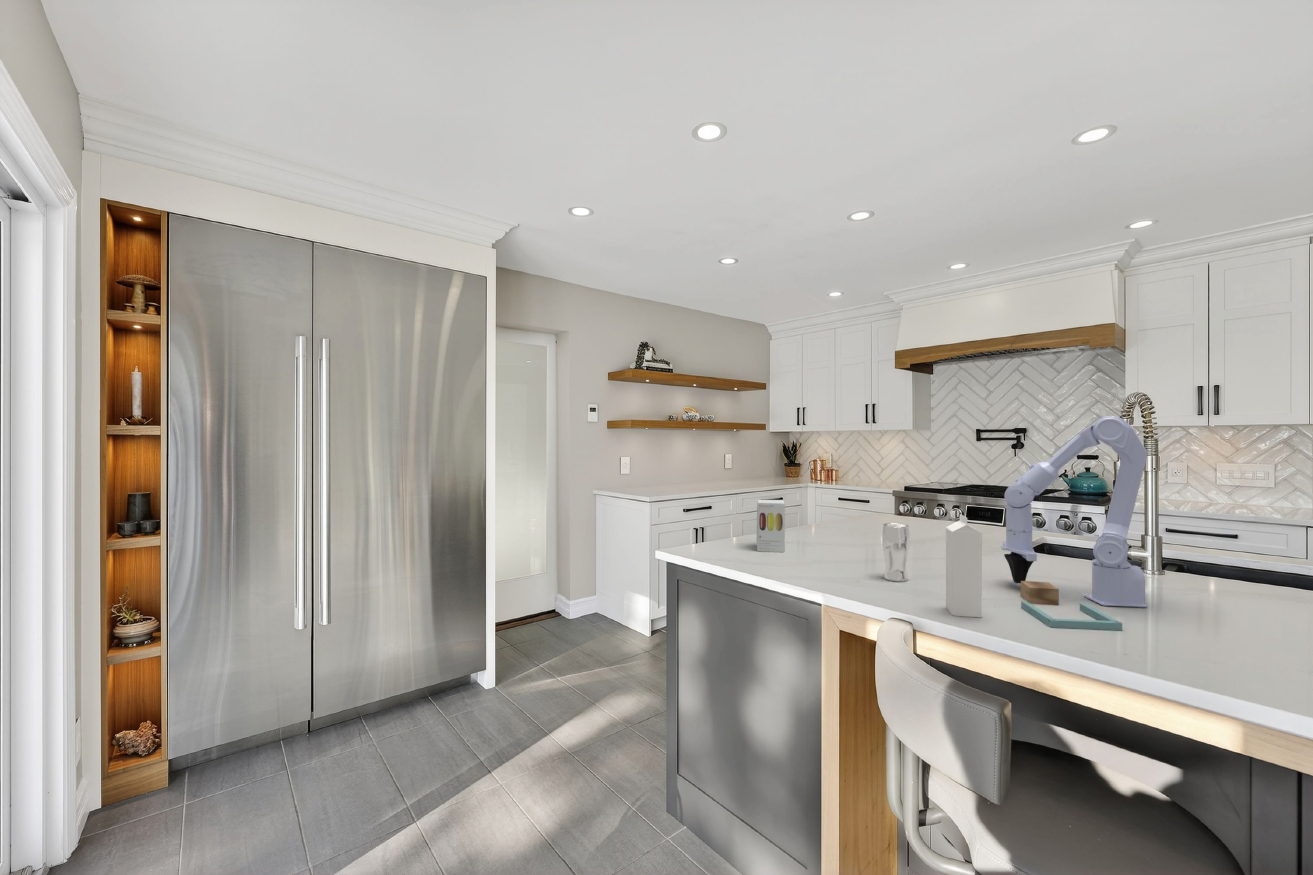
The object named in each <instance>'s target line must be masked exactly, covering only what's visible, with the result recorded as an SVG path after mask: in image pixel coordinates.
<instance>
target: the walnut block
mask: <svg viewBox="0 0 1313 875" xmlns="http://www.w3.org/2000/svg"><path fill="white" fill-rule="evenodd" d="M1059 590H1060V589H1059V588H1058V587H1057V586H1056V585H1053V584H1051V583H1050V582H1048V581H1029V580H1025V581H1021V583H1020V597H1021V598H1022V597H1023V598H1022V599H1024V601H1027V602H1029V603H1030V604H1032V605H1047V606H1048V605H1051V606H1059V604H1060V603H1059V602H1060V601H1059V600H1060V599H1059V597H1060V596H1059V593H1060V591H1059Z"/></svg>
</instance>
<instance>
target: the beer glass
mask: <svg viewBox="0 0 1313 875" xmlns="http://www.w3.org/2000/svg"><path fill="white" fill-rule="evenodd" d="M881 535H882V536H881V541H882V542H881V543H882V544H881V545H882V551H883V557H884V563H885V567H884V568H885V569H884V575H883V578H884V580H886V581H888V582H889V581H890V582H896V583H897V582H898V583H904V582H907V581H908V580H909V578H908V572H907V562H908V557H909V551H910V542H911V541H910V530H909V525H908V524H905V523H901V522H900V523H899V522H896V523H895V522H887V523H883V524H882V534H881Z"/></svg>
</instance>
